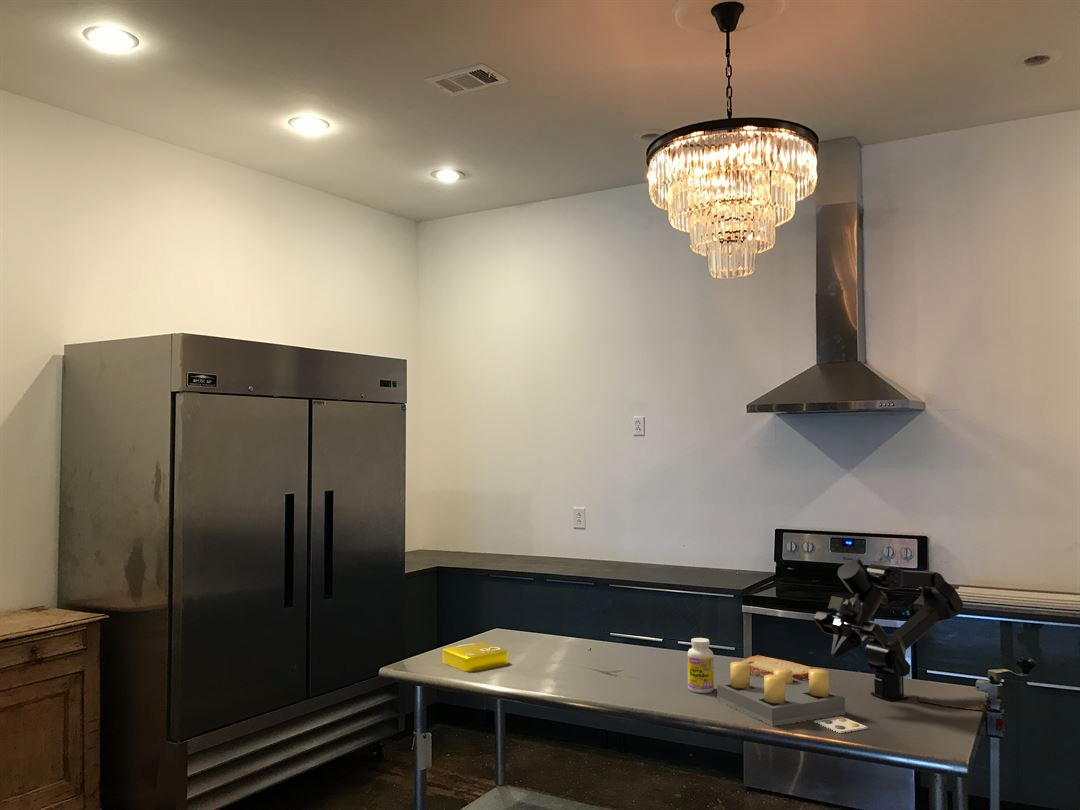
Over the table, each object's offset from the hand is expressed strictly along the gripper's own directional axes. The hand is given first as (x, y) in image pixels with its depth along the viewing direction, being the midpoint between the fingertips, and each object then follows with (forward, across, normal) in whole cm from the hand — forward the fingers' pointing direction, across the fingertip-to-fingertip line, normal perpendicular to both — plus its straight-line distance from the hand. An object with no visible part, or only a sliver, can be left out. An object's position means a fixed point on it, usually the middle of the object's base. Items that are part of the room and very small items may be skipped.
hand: (833, 656), depth 198 cm
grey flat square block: (+16, -7, +1) cm, 18 cm away
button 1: (+17, -14, -6) cm, 23 cm away
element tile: (+50, -82, -31) cm, 101 cm away
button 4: (+9, 0, +2) cm, 9 cm away
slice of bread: (+1, -31, +17) cm, 36 cm away
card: (+15, +9, +3) cm, 18 cm away
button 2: (+18, -1, -7) cm, 20 cm away
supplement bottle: (+21, -28, -3) cm, 35 cm away
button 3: (+10, -13, +5) cm, 17 cm away
